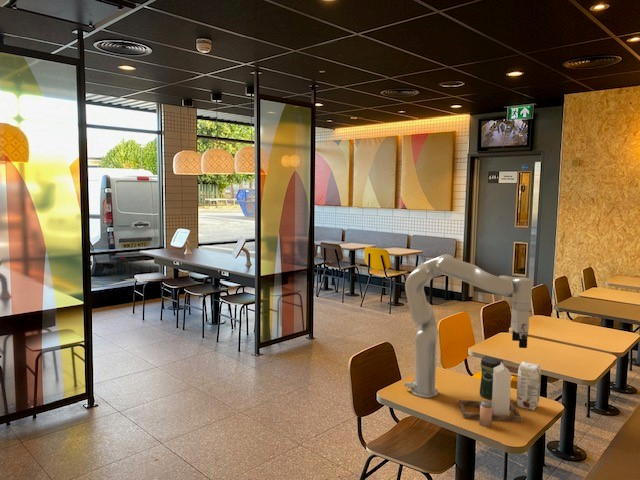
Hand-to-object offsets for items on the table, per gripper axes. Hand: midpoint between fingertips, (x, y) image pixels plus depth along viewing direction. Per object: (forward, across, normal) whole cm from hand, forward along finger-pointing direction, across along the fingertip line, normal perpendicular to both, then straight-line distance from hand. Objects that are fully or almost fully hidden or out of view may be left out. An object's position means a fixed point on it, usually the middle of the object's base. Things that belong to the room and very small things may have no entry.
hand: (519, 344), depth 210 cm
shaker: (+28, +21, -18) cm, 39 cm away
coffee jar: (+28, -7, -9) cm, 30 cm away
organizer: (+28, +10, -14) cm, 33 cm away
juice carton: (+28, +1, +4) cm, 28 cm away
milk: (+28, +10, -10) cm, 31 cm away
